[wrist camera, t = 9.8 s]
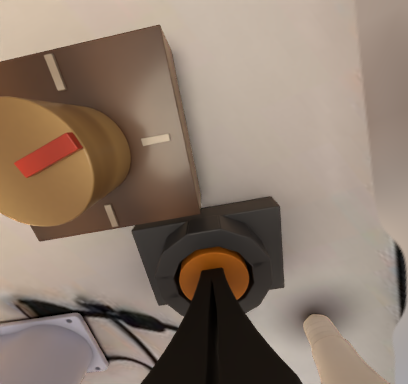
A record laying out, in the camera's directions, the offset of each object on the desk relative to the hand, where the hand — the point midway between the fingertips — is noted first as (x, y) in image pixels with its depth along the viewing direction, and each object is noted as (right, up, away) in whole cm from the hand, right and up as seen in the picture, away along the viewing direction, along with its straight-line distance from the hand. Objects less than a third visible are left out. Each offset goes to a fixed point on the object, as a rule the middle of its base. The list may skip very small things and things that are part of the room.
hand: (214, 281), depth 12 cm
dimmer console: (-7, +9, +1) cm, 11 cm away
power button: (0, +1, +2) cm, 2 cm away
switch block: (0, +1, +3) cm, 3 cm away
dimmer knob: (-7, +8, -2) cm, 10 cm away
